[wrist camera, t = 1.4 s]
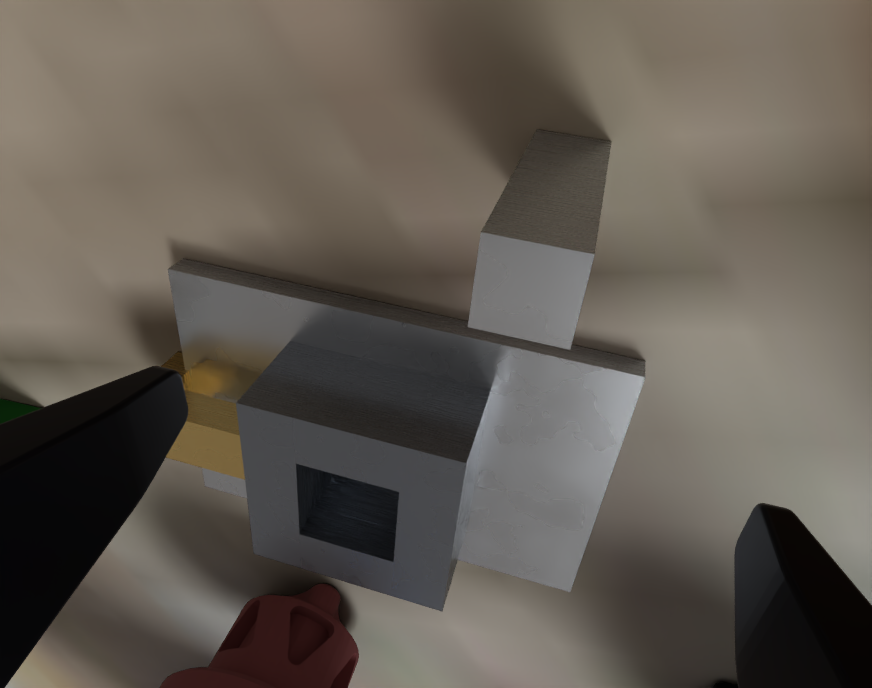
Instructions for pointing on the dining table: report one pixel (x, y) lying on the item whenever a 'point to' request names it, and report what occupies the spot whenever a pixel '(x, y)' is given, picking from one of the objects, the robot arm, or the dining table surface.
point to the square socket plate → (394, 433)
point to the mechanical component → (281, 646)
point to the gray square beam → (541, 241)
